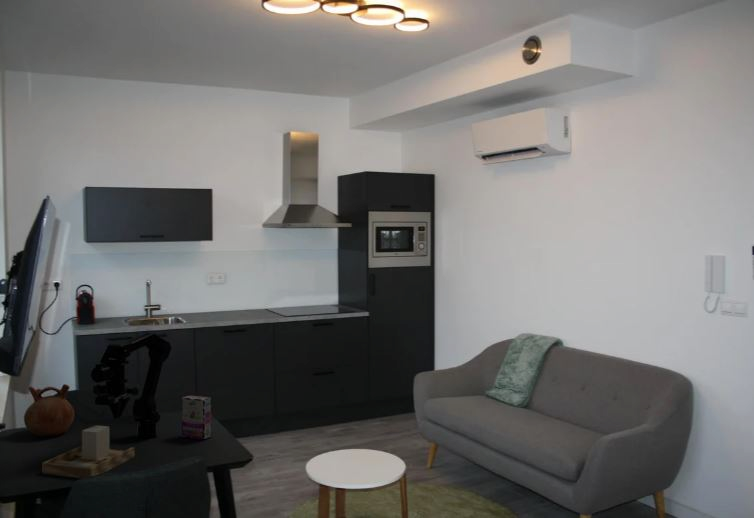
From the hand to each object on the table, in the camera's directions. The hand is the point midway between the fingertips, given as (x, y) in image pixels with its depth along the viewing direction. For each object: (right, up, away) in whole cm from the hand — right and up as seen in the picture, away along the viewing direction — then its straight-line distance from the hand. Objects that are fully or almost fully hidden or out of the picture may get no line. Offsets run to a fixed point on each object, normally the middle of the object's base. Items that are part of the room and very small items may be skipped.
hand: (117, 417), depth 250 cm
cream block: (-2, -11, -14) cm, 17 cm away
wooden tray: (-3, -13, -16) cm, 21 cm away
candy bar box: (+26, -12, +16) cm, 33 cm away
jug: (-35, -11, +19) cm, 42 cm away
